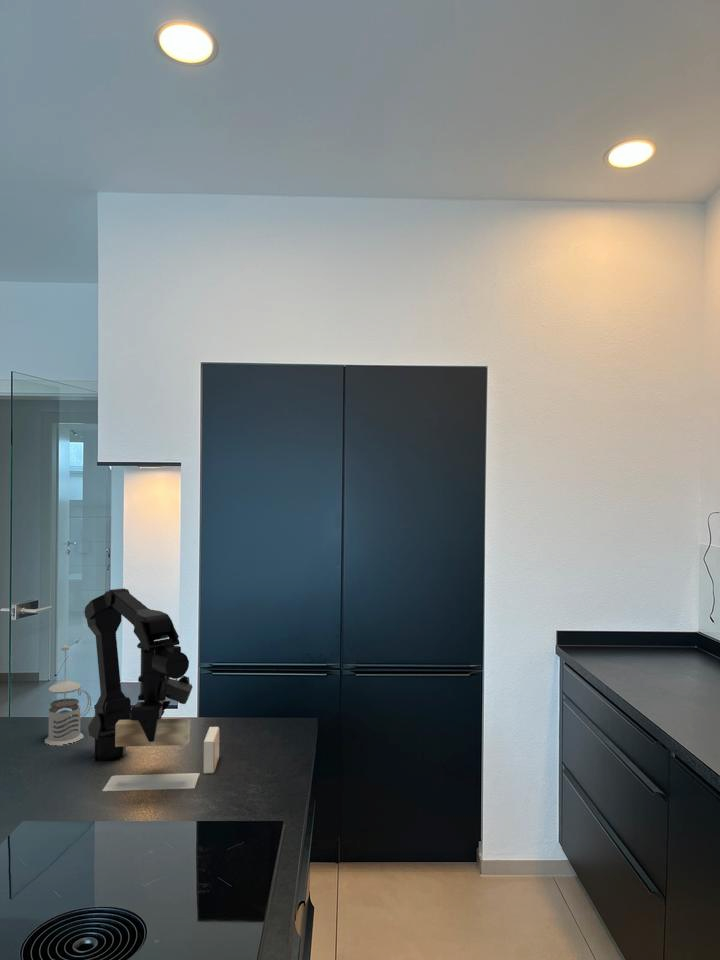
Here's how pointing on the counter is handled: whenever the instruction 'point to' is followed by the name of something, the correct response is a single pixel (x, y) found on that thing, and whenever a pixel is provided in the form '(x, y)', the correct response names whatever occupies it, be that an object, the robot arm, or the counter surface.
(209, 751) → the glazed tile
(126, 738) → the beige rectangular block
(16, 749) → the counter surface
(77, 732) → the french press
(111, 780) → the mat
